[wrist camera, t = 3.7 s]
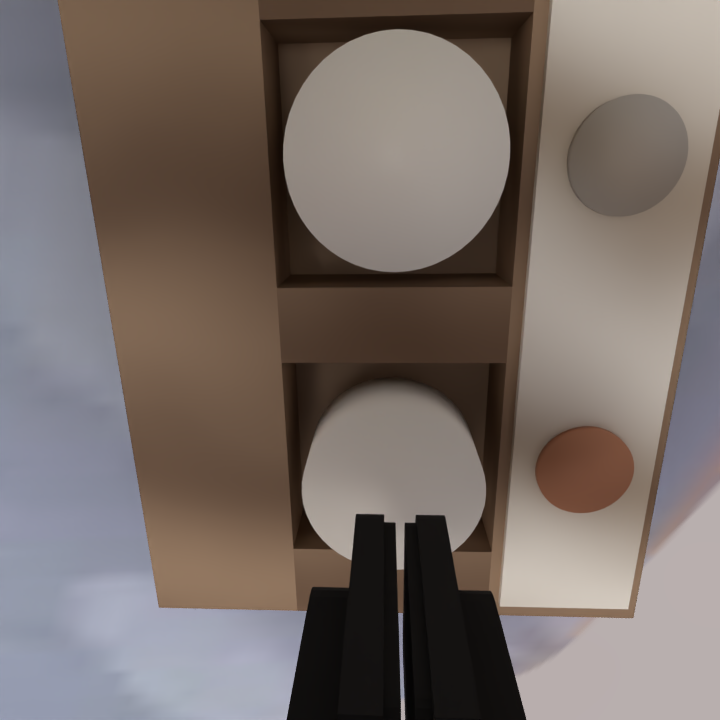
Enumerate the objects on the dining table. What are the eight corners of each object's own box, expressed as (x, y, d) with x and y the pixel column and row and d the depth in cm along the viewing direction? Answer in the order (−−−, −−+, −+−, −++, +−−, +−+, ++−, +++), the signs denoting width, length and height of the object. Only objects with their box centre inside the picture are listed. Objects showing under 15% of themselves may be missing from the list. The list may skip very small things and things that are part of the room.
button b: (294, 57, 12) (276, 32, 10) (495, 53, 11) (519, 26, 9) (304, 259, 13) (289, 272, 11) (483, 258, 13) (502, 271, 11)
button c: (309, 376, 14) (297, 409, 12) (476, 377, 14) (492, 409, 12) (316, 518, 15) (305, 568, 13) (467, 520, 15) (480, 571, 13)
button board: (55, -474, 11) (-84, -751, 8) (756, -525, 10) (928, -851, 7) (192, 543, 19) (153, 618, 16) (594, 550, 18) (639, 629, 15)
